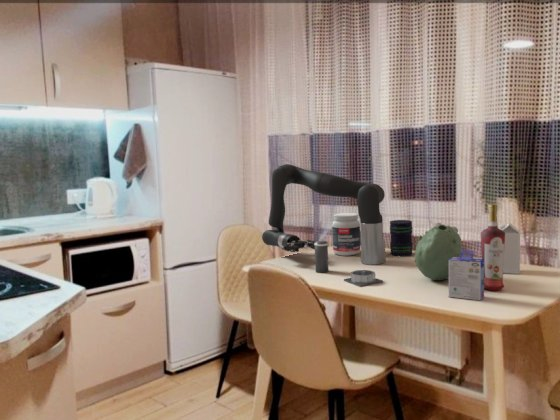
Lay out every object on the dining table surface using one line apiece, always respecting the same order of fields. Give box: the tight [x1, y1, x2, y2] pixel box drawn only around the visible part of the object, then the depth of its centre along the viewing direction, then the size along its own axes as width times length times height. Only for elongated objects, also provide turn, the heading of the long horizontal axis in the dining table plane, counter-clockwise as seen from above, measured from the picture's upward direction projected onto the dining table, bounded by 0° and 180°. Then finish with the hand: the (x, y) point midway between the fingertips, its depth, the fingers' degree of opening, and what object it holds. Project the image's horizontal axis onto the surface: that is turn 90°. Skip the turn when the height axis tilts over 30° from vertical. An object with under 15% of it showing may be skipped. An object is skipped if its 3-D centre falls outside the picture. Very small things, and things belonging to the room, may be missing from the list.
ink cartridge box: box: [448, 250, 485, 301], centre depth 152 cm, size 10×6×14 cm, turn 58°
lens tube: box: [314, 240, 329, 274], centre depth 194 cm, size 5×5×12 cm
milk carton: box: [498, 219, 521, 275], centre depth 179 cm, size 7×7×19 cm
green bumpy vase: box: [414, 222, 464, 281], centre depth 173 cm, size 16×19×20 cm
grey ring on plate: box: [343, 269, 384, 287], centre depth 176 cm, size 10×10×3 cm
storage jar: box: [389, 219, 414, 257], centre depth 218 cm, size 10×10×15 cm
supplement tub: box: [331, 212, 361, 257], centre depth 225 cm, size 13×13×18 cm
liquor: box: [480, 203, 505, 292], centre depth 158 cm, size 7×7×28 cm
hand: (307, 248), depth 203 cm, fingers open, 8 cm apart
